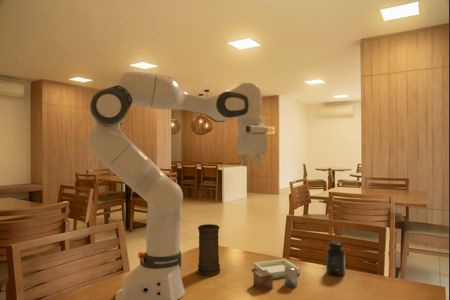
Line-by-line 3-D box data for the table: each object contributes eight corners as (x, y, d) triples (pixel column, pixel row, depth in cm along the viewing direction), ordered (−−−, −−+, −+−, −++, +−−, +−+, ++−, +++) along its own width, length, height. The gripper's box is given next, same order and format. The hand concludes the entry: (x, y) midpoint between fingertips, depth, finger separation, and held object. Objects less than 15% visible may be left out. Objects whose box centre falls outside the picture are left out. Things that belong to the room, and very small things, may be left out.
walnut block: (259, 291, 115) (259, 276, 115) (253, 285, 120) (253, 271, 120) (272, 288, 117) (272, 274, 116) (266, 283, 121) (266, 269, 121)
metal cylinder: (288, 288, 117) (288, 271, 117) (282, 283, 121) (282, 267, 121) (299, 286, 118) (299, 269, 118) (293, 281, 122) (293, 265, 122)
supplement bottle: (348, 274, 129) (348, 243, 129) (336, 278, 126) (335, 246, 126) (335, 268, 135) (335, 239, 135) (322, 272, 132) (322, 241, 132)
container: (217, 276, 127) (217, 229, 127) (194, 275, 129) (194, 228, 129) (222, 268, 136) (222, 224, 136) (201, 266, 138) (200, 223, 138)
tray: (267, 279, 124) (267, 273, 124) (253, 268, 135) (253, 262, 135) (300, 275, 129) (300, 268, 129) (284, 264, 140) (284, 258, 140)
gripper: (231, 130, 130) (232, 165, 130) (253, 127, 111) (253, 169, 111) (247, 130, 132) (247, 165, 132) (270, 127, 113) (270, 168, 113)
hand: (250, 167), depth 121 cm, fingers open, 8 cm apart
